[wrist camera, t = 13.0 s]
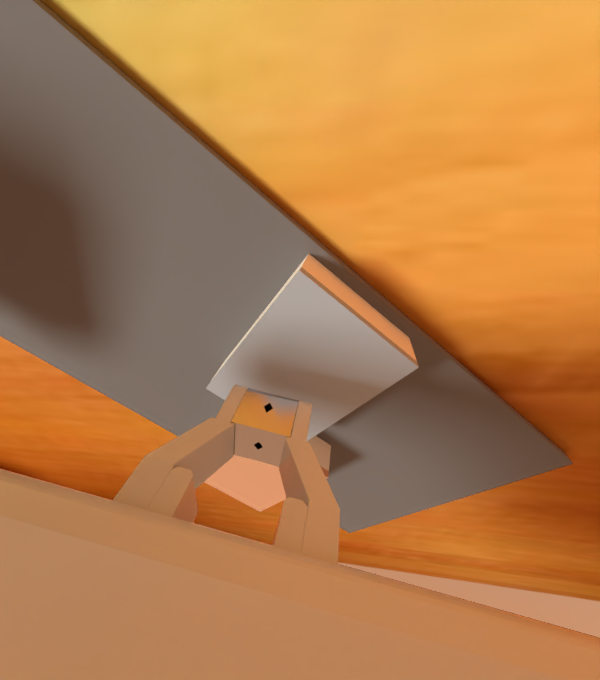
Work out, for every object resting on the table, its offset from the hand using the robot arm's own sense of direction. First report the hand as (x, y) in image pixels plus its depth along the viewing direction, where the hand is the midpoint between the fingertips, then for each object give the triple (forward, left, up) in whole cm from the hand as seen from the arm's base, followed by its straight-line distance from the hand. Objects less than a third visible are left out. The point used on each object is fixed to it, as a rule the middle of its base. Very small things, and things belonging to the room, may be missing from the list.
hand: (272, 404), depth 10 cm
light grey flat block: (0, -4, -3) cm, 5 cm away
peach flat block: (-9, -7, -3) cm, 12 cm away
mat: (-4, 0, -5) cm, 7 cm away
